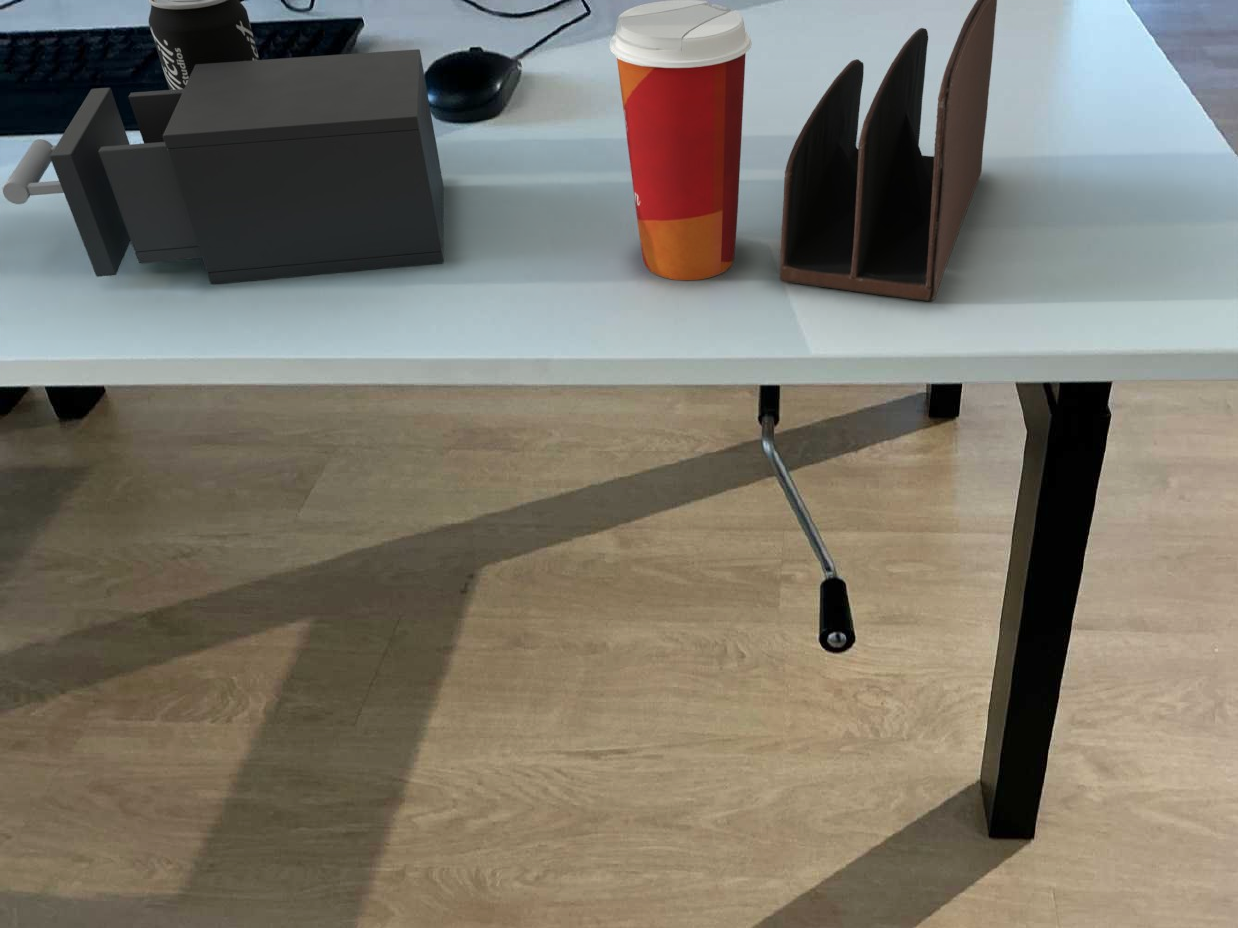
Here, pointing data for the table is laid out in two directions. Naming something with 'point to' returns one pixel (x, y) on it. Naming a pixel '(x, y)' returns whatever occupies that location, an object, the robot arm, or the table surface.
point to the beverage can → (199, 35)
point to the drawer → (114, 181)
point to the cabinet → (309, 165)
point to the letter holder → (888, 172)
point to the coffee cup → (683, 130)
